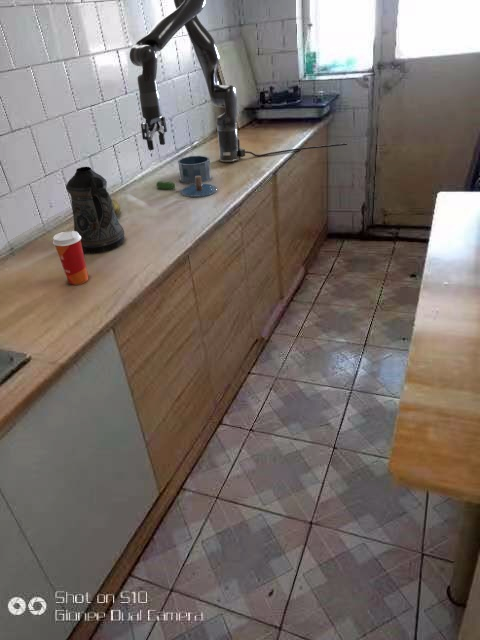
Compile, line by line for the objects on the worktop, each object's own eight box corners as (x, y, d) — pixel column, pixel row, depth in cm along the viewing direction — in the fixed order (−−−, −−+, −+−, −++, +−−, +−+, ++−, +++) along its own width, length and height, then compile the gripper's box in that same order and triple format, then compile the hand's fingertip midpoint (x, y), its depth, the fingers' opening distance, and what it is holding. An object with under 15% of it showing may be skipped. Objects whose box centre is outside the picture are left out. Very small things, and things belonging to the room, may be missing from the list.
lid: (205, 184, 204) (203, 168, 201) (224, 192, 194) (222, 176, 191) (175, 192, 198) (173, 176, 194) (193, 201, 188) (191, 184, 184)
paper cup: (68, 275, 142) (55, 231, 134) (94, 272, 142) (82, 228, 134) (62, 288, 135) (48, 242, 127) (89, 285, 136) (77, 240, 128)
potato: (129, 210, 184) (125, 190, 179) (112, 223, 174) (107, 202, 169) (111, 209, 186) (106, 189, 182) (92, 222, 176) (87, 201, 172)
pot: (200, 172, 219) (198, 154, 214) (217, 179, 209) (215, 159, 204) (174, 179, 212) (172, 160, 208) (190, 186, 203) (188, 166, 198)
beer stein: (94, 231, 169) (76, 159, 155) (142, 235, 163) (128, 161, 149) (65, 251, 156) (43, 175, 142) (116, 257, 150) (98, 178, 136)
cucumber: (155, 190, 202) (154, 182, 200) (159, 187, 205) (158, 179, 203) (172, 191, 199) (171, 183, 197) (177, 188, 202) (175, 181, 200)
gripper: (148, 107, 178) (155, 152, 187) (168, 100, 189) (173, 143, 198) (131, 107, 181) (139, 151, 190) (152, 100, 191) (158, 142, 200)
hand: (157, 147), depth 194 cm, fingers open, 8 cm apart
